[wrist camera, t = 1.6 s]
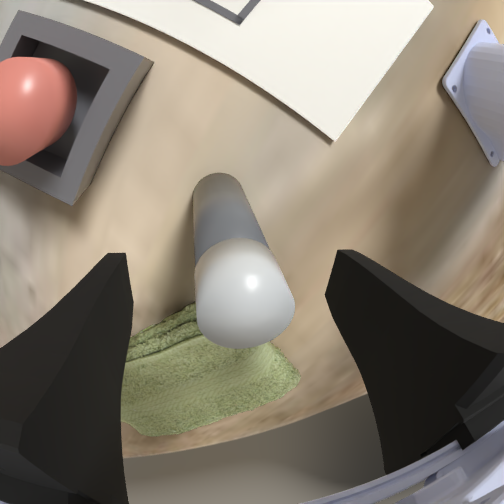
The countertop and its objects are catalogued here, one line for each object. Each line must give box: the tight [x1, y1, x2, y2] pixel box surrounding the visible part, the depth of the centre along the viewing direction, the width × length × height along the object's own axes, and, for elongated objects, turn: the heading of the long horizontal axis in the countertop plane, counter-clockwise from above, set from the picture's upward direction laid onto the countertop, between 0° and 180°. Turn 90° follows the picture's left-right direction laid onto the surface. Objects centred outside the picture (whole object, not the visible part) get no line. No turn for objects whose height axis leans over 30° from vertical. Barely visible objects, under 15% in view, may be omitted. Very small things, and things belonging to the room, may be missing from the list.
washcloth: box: [121, 302, 301, 436], centre depth 22 cm, size 13×18×3 cm
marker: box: [193, 173, 295, 349], centre depth 12 cm, size 3×3×9 cm
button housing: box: [0, 10, 154, 206], centre depth 10 cm, size 7×7×3 cm
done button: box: [0, 57, 77, 166], centre depth 8 cm, size 4×4×2 cm
